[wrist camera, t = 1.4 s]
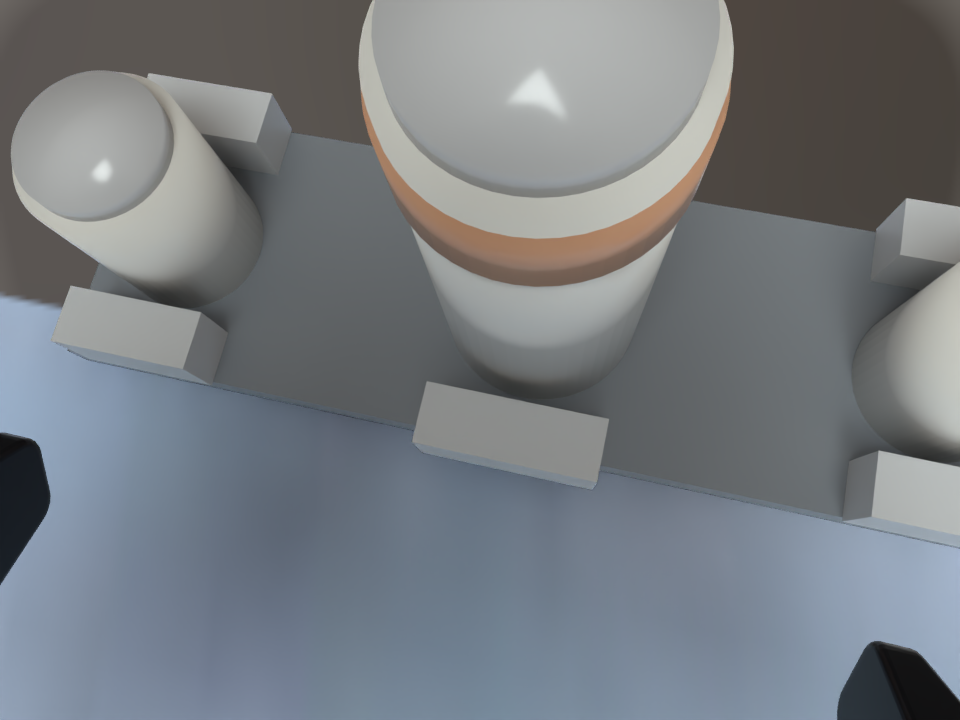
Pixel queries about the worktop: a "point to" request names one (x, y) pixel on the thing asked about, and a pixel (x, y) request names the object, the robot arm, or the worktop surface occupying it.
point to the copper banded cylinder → (544, 164)
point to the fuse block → (572, 419)
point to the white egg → (915, 373)
